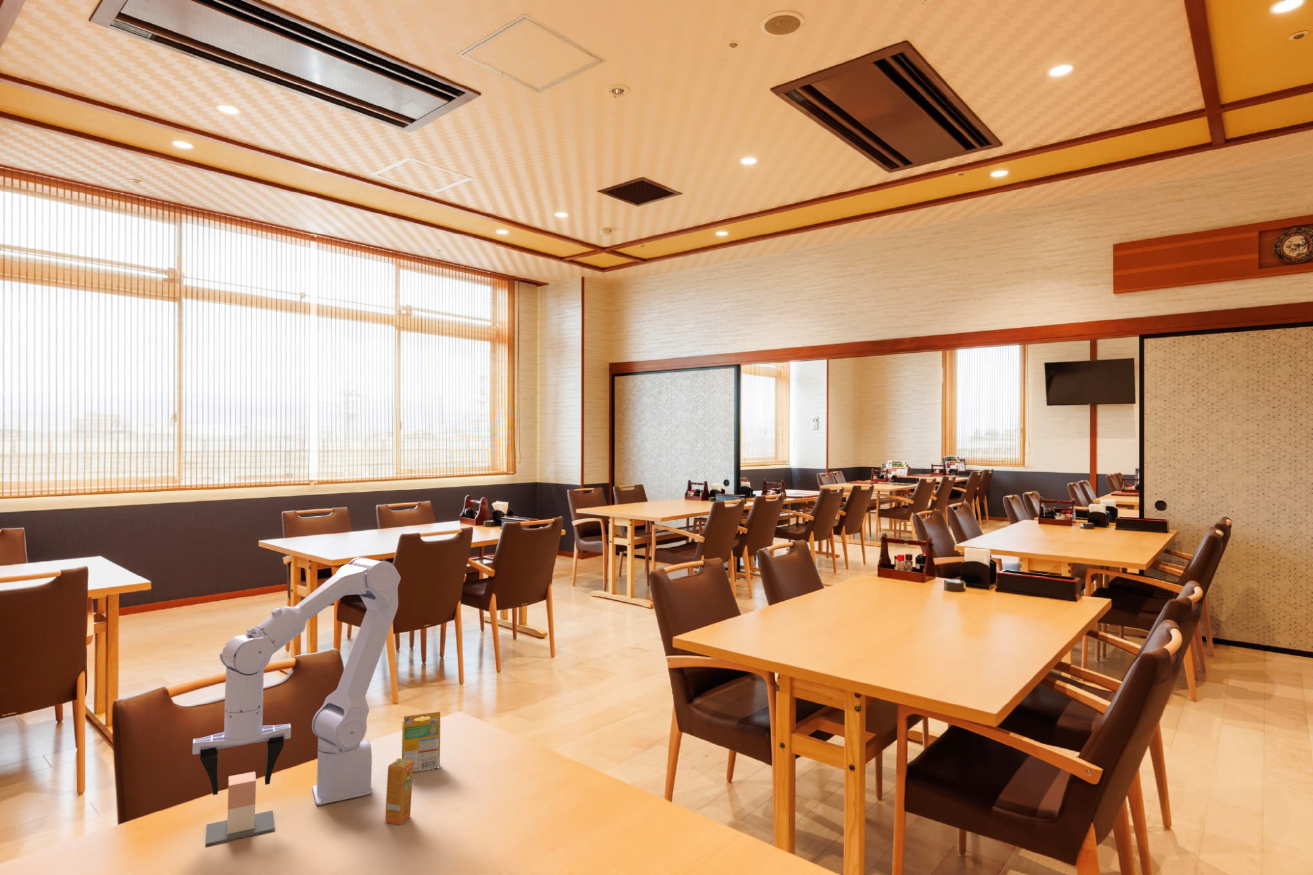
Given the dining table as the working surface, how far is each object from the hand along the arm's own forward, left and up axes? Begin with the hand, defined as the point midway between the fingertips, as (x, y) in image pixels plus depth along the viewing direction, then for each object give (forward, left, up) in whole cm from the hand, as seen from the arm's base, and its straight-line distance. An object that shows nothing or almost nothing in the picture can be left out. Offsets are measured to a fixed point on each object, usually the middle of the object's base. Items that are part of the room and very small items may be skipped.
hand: (241, 787), depth 123 cm
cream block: (0, 0, -7) cm, 7 cm away
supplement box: (-24, +10, -7) cm, 27 cm away
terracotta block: (0, 0, -3) cm, 3 cm away
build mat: (0, 0, -7) cm, 7 cm away
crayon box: (-32, -9, -7) cm, 34 cm away
